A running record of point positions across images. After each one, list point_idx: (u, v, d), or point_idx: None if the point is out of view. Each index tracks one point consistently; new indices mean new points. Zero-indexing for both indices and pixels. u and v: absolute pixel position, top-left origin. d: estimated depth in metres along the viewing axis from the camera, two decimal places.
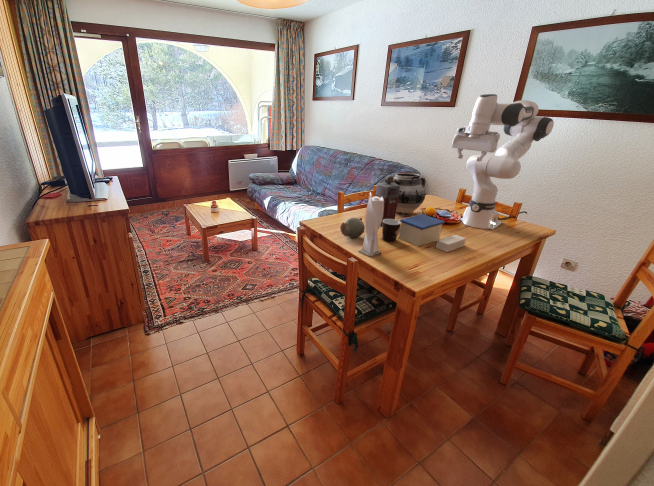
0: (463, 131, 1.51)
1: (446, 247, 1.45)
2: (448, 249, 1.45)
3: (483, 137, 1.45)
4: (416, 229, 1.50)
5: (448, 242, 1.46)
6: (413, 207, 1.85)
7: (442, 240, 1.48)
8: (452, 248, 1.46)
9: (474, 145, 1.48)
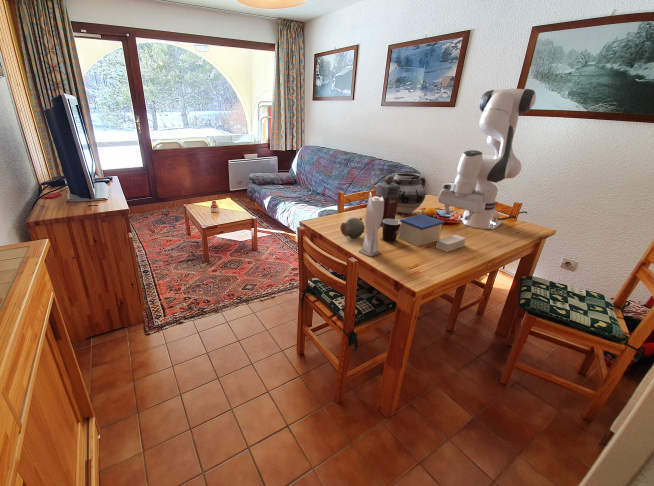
0: (449, 188, 1.42)
1: (446, 247, 1.45)
2: (448, 249, 1.45)
3: (470, 197, 1.36)
4: (416, 229, 1.50)
5: (448, 242, 1.46)
6: (413, 207, 1.85)
7: (442, 240, 1.48)
8: (452, 248, 1.46)
9: (461, 204, 1.39)
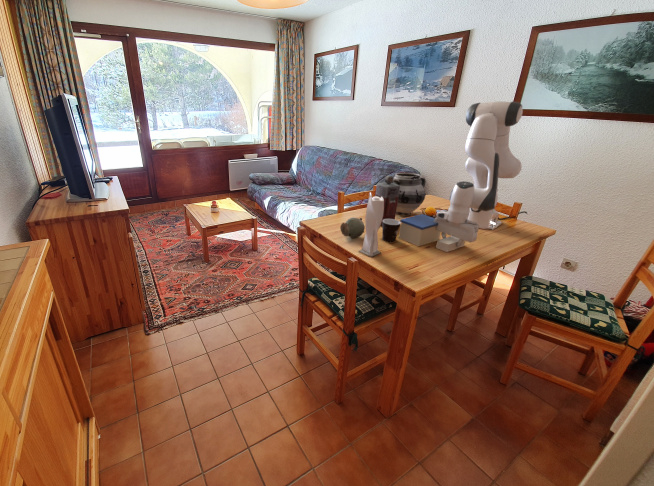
0: (442, 217, 1.47)
1: (446, 247, 1.44)
2: (448, 249, 1.45)
3: (462, 226, 1.41)
4: (416, 229, 1.50)
5: (448, 242, 1.46)
6: (413, 207, 1.85)
7: (442, 240, 1.48)
8: (452, 248, 1.46)
9: (454, 232, 1.45)
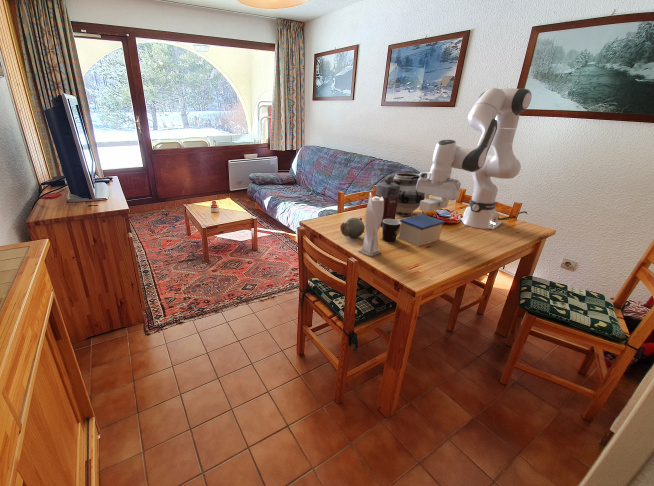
0: (425, 177, 1.47)
1: (428, 206, 1.44)
2: (430, 209, 1.44)
3: (444, 184, 1.41)
4: (416, 229, 1.50)
5: (430, 201, 1.46)
6: (413, 207, 1.85)
7: (425, 200, 1.47)
8: (435, 208, 1.46)
9: (437, 191, 1.45)
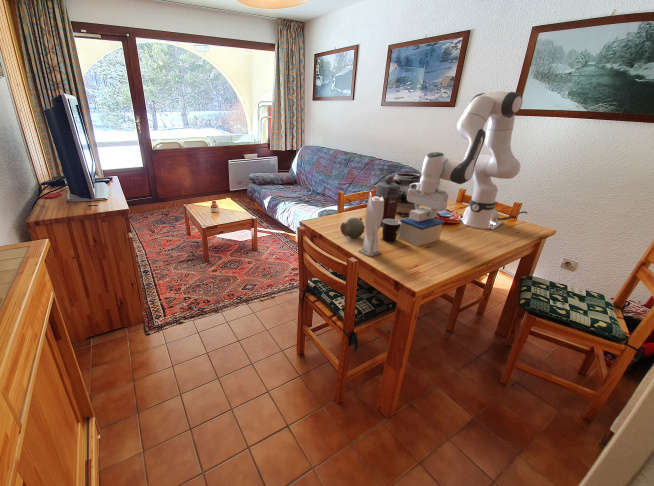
0: (415, 188, 1.51)
1: (418, 217, 1.49)
2: (420, 219, 1.49)
3: (433, 195, 1.45)
4: (416, 229, 1.50)
5: (419, 211, 1.50)
6: (413, 207, 1.85)
7: (414, 210, 1.52)
8: (424, 218, 1.51)
9: (426, 202, 1.49)
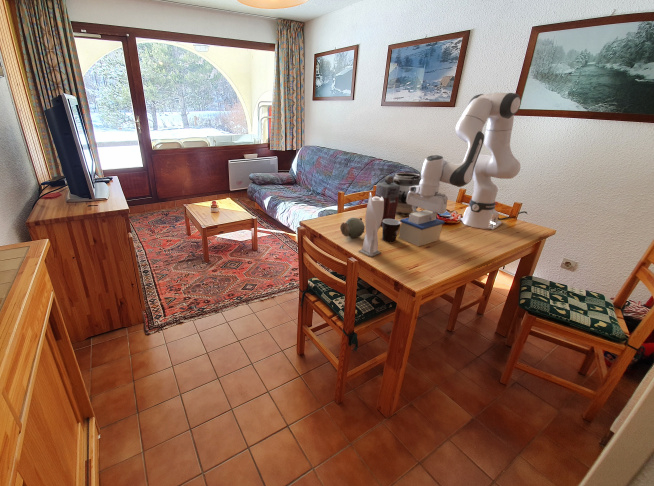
0: (414, 190, 1.52)
1: (417, 220, 1.49)
2: (419, 222, 1.50)
3: (432, 198, 1.46)
4: (416, 229, 1.50)
5: (419, 214, 1.51)
6: None
7: (414, 213, 1.52)
8: (423, 221, 1.51)
9: (426, 205, 1.50)
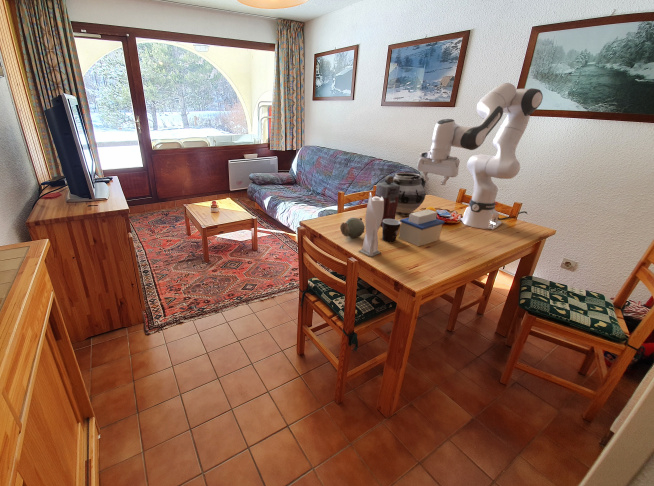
0: (425, 156, 1.53)
1: (417, 220, 1.49)
2: (419, 222, 1.50)
3: (444, 162, 1.47)
4: (416, 229, 1.50)
5: (419, 214, 1.51)
6: (413, 207, 1.85)
7: (414, 213, 1.52)
8: (423, 221, 1.51)
9: (437, 169, 1.51)
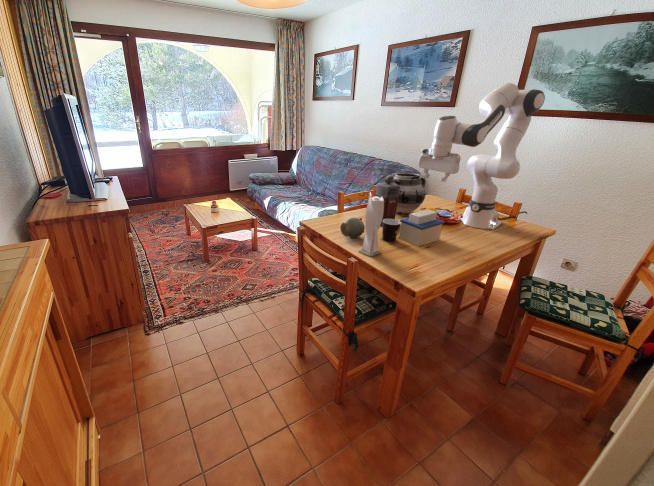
0: (427, 152, 1.53)
1: (417, 220, 1.49)
2: (419, 222, 1.50)
3: (445, 159, 1.47)
4: (416, 229, 1.50)
5: (419, 214, 1.51)
6: (413, 207, 1.85)
7: (414, 213, 1.52)
8: (423, 221, 1.51)
9: (438, 166, 1.51)
